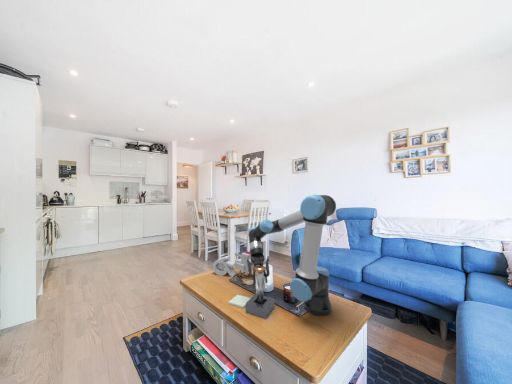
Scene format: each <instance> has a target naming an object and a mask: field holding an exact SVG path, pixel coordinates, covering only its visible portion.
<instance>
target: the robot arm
mask: <svg viewBox="0 0 512 384" xmlns="http://www.w3.org/2000/svg"><path fill="white" fill-rule="evenodd" d="M336 210H337V204H336V200H335V199H334V198H333V197H332V196H330V195H327V194H312V195H307V196H305V198H303V200H302V201H301V203H300V210H297V211H296V212H292V213H290V214H288V215H286V216H283V217H282V218H279V219H276V220H273V221H271V220H270V219H264V220H262V221H261V222H260V223H259V224H258V225H257V226H252V227H250V228H249V229H248V230H247V231H248V241H249V250H250V251H249V252H250V253H251V259H249V260H248V259H247V264H248V270H249V272H248V274H249V277H248V278H251V279H252V283H253V284H254V285H255V286H254V287H255V292H256V291H257V290H258V283H257V276H256V274H257V271H255V270H254V269H253V272H252V271H251V264H250V263H251V262H252V263H253V264H254V267H256V266H264V263H265V267H266V271H264V291H266V290H267V289H268V287H267V283H268V277H269V276H270V265H269V260H270V259H269V258H265V256H264V251H263V245H262V239H263V238H264V237H266V236H267V235H270V234H275V233H280V232H283V231H284V230H287V229H289V228H293V227H295V226H297V225H300V224H303V223H304V224H305V225H304V229H303V230H304V233H303V239H302V246H301V252H300V261H299V267H298V268H296V269H295V275H294V278H292V279H291V281H290V282H289V289H290V291H291V293H292V295H293V296H294V298H295V299H296V300H298V301H300V302H303V308H304V307H305V308H306V309H307V310H306V309H305V308H304V309H305V310H306V312H308V313H310V314H312V315H315V316H328V315H330V314H331V313H332V302H331V300H330V297H329V293H330V291H329V289H330V271H329V269H328V268H326V267H323V266H320V265H318V261H319V254H320V249H321V248H320V247H321V241H322V234H323V227H324V226H326V225H327V221H328V217H330V216H332V215H333V214H334V213H335V211H336Z"/></svg>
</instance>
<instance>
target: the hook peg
mask: <svg viewBox="0 0 512 384" xmlns="http://www.w3.org/2000/svg"><path fill="white" fill-rule="evenodd" d="M254 270H255V271H256V277H257V283H258V290H257V291H256V290H255V294H256V301H257V302H262V301H263V296H264V291H265V290H264V271H265V272H266V266H264V265H263V266H260V265H256V267H254Z"/></svg>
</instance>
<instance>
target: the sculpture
mask: <svg viewBox="0 0 512 384" xmlns="http://www.w3.org/2000/svg"><path fill="white" fill-rule="evenodd" d="M229 258H231V255H226V256H222V257H221V258H217V260H215V261H214V262H213V264H212V270H213V272H214V273H215V274H216V275H217V276H221V277H222V276H225V275H227V273H228V275H229V277H230V278H234V276H236V275H237V271H236V270H235V269H236V268H235V261H232V260H231V259H229Z"/></svg>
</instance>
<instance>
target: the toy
mask: <svg viewBox="0 0 512 384" xmlns="http://www.w3.org/2000/svg"><path fill="white" fill-rule="evenodd" d="M240 255H241V256H240V258H237V259H234V262H235V265H234V269H236V270H239V275H238V276H242V272H246V273H247V274H249V270H248V264H247V259H248V260H249V259H251V253H250V251H248V250H245V252H242V253H241V254H240ZM250 264H251V271H253V269H254V264H253V263H252V262H251V263H250Z"/></svg>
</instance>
